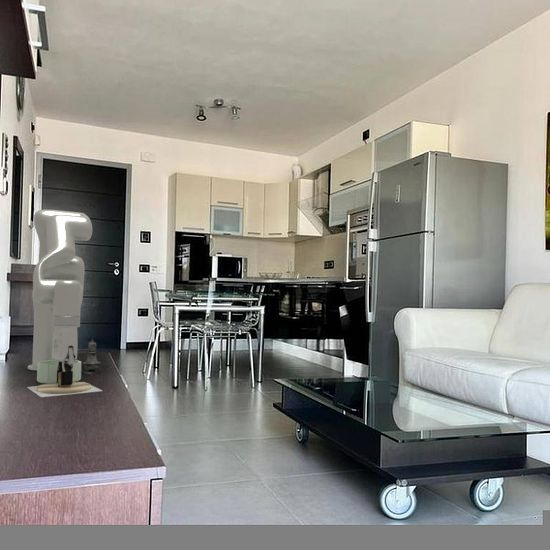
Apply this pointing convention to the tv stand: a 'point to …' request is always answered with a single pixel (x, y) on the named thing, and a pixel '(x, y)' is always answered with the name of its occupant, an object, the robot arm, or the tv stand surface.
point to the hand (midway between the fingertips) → (64, 383)
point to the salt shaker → (91, 359)
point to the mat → (34, 389)
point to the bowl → (55, 371)
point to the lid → (63, 387)
